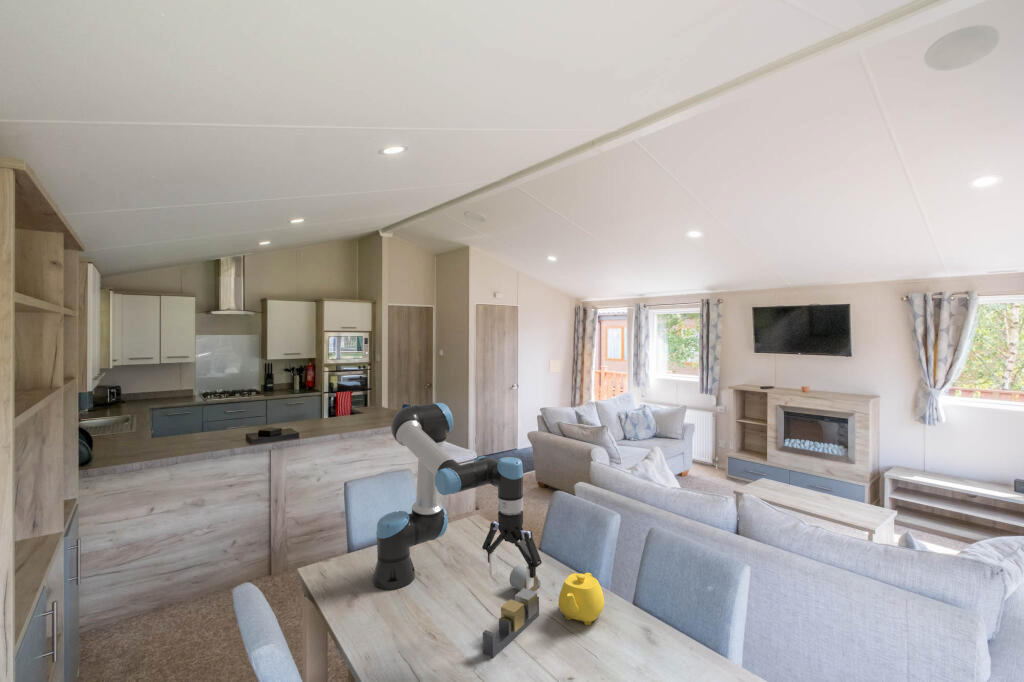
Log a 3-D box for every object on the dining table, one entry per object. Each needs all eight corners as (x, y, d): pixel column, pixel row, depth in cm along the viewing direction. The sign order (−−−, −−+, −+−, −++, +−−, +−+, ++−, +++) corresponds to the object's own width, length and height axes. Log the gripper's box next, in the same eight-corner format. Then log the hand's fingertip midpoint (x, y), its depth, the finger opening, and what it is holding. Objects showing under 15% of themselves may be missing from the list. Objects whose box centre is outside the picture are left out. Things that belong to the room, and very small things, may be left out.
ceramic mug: (525, 599, 161) (525, 576, 161) (509, 590, 167) (508, 568, 167) (546, 587, 169) (546, 566, 169) (529, 579, 175) (529, 558, 175)
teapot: (610, 606, 156) (610, 568, 156) (590, 641, 139) (589, 598, 138) (571, 596, 163) (570, 559, 163) (547, 628, 145) (546, 587, 145)
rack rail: (483, 653, 134) (482, 632, 134) (529, 611, 154) (529, 593, 154) (493, 658, 132) (492, 636, 132) (539, 615, 152) (538, 596, 152)
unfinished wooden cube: (501, 626, 142) (500, 606, 142) (510, 618, 146) (510, 599, 146) (514, 632, 140) (514, 612, 139) (524, 623, 144) (524, 604, 144)
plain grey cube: (515, 614, 149) (515, 595, 149) (524, 606, 153) (524, 588, 153) (528, 619, 146) (528, 600, 146) (537, 611, 150) (537, 592, 150)
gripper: (470, 505, 147) (471, 573, 147) (539, 524, 132) (539, 599, 133) (485, 498, 153) (486, 563, 153) (552, 515, 138) (553, 587, 139)
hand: (511, 580), depth 143 cm, fingers open, 13 cm apart
